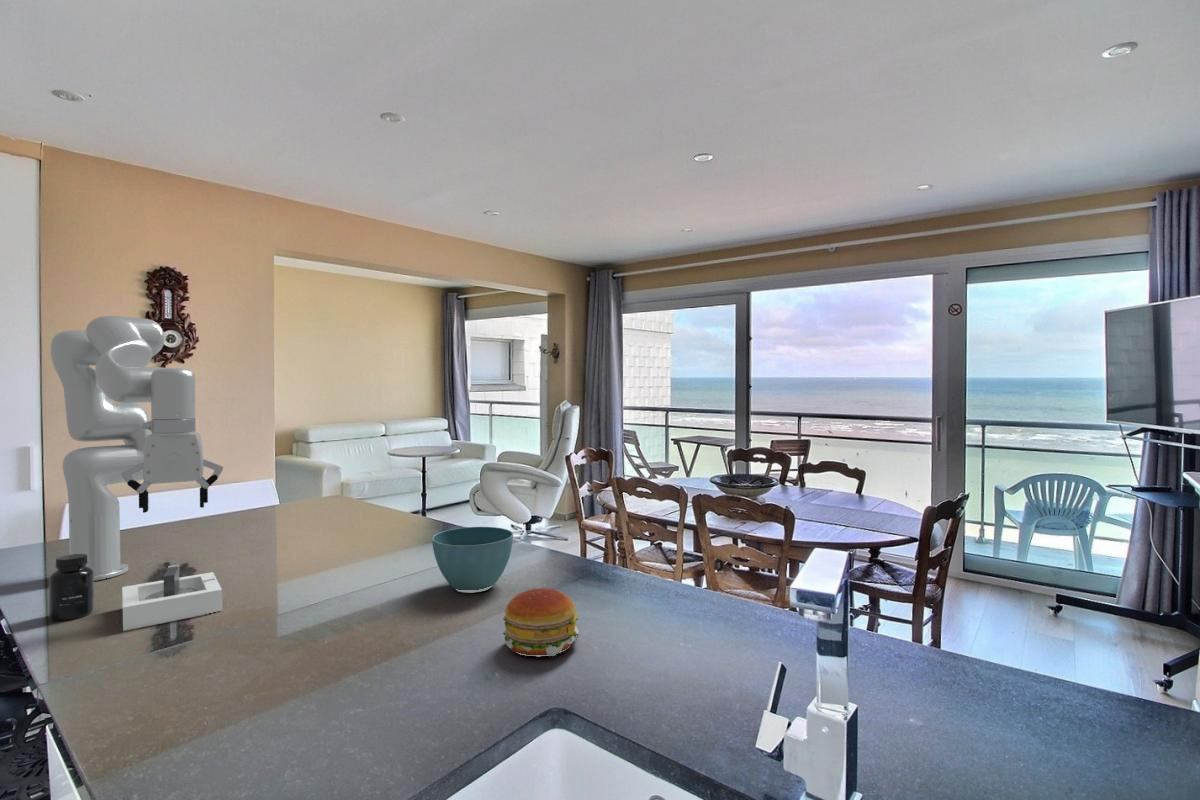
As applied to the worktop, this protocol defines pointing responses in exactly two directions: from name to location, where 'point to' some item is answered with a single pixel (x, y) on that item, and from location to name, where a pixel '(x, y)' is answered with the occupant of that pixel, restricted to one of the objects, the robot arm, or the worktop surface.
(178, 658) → the worktop surface
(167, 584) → the dial
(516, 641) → the burger
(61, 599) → the supplement bottle
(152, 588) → the dial housing
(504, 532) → the teal bowl
